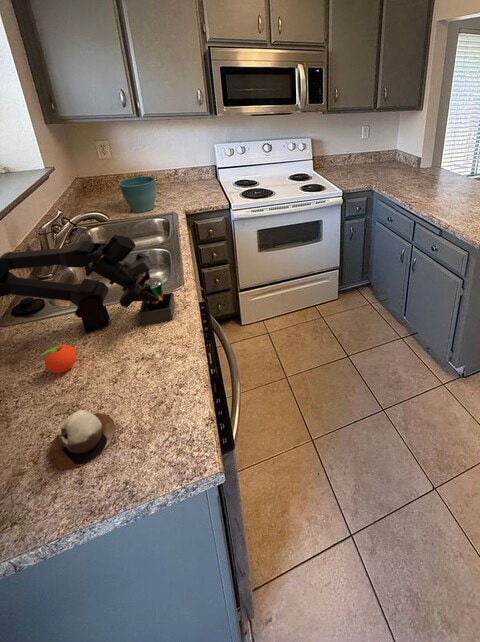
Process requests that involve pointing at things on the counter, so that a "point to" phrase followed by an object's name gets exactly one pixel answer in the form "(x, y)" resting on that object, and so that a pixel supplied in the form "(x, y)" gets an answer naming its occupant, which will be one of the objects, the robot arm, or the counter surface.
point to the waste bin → (157, 311)
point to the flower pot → (139, 193)
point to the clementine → (60, 358)
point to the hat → (81, 439)
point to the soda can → (156, 289)
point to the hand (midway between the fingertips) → (159, 295)
